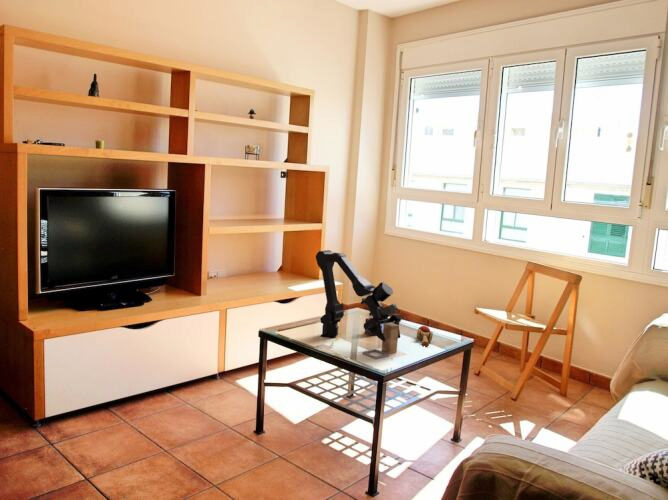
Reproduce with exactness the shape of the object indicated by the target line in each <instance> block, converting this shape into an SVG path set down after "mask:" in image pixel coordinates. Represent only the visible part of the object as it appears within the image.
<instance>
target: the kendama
mask: <svg viewBox="0 0 668 500" xmlns="http://www.w3.org/2000/svg"><path fill="white" fill-rule="evenodd" d="M416 332H417V333H416V339H417V340H418V339H422V340H421V341H422V343H421V345H422V347H423V348H428V347H429V341H431V342H432V340H433V337H434V336H433V335H434V331H431V328H429V326H427V325H421V326H419V327H418V329H417V331H416ZM424 346H425V347H424Z"/></svg>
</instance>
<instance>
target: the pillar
mask: <svg viewBox="0 0 668 500" xmlns="http://www.w3.org/2000/svg"><path fill="white" fill-rule="evenodd" d="M398 330H399V331H400V324H399V325H397V324H394V323H386V324H384V327H383V332H382V333H383V335H384V337H385V341H382V340H381V348H382V350H381V351H382V352H385V353H387V354H389V355H390V354H394V353H397V350H398V341H399V338H398Z"/></svg>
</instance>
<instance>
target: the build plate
mask: <svg viewBox="0 0 668 500" xmlns="http://www.w3.org/2000/svg"><path fill="white" fill-rule="evenodd" d="M381 350H382V347H379V348H375V349H370V350H369V349H368V350H365V351H361V352H357V353H355V354H357V355H359V356H361V357H364V358H367V359H369V360H370V361H373V362H375V363H379V362H382V361H386V360H390V359H394V358H399V357H402V356H408V353H407V352H404V351H401V350H398V349H397V353H394V354H390V355H389V354H387V353H385V352H382V351H381Z"/></svg>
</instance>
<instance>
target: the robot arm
mask: <svg viewBox="0 0 668 500" xmlns="http://www.w3.org/2000/svg"><path fill="white" fill-rule="evenodd" d="M315 260H316V264H317V266H318V268H319V269H320V271H321V273H322V281H323V285H324V292H325V297H326V304H325V308H324V314H323V315H322V316H321V317H320V319H319V320H320V324H322V329H321V330H322V333H321V334H320V336H321V337H324V338H331V339H332V338H333V339H335V338H336V337H337V336H338V335H339V328H340V327H339V325H338V324H339V323H340V322H341V320H342V318H344V314H345V309H344V304H343V303H340V301H339V300H338V295H337V288H336V287H337V286H336V282H335V275H334V269H333V268H334V266H335V263H336V264H337V265H338V266H339V268H340V269H341V271H343V273H344V274H345V276H346V277H347V278H348V280H349V281H350V282H351V284H352V289H353V291H354V292H355V294H356V296H357V297H360V298H361V302H360V305H366V307H367V309H368V312H369V313H368V315H369V318H370V319H369V320H368V321H366V320H365V321H366V322H364V323H363V329H364V332H365V331H367V330H368V332H371V333H372V334H374V335H375V336H374V337H376V338H378V340H381V342H382V341H385V337H384V335H383V332H382V331H381V329H380V324H386V323H394V324H397V325H399V326H400V323H401V321H402V319H403V317H402V315H401V314H399V313H397V311H398V306H397V305H396V303H391V304H389V305H388V306H385V305H382V303H383V302H385V301H386V300H388V299H389V298H390V297H391V296H392V295H393V294H394V292H393V288H392V287H391V286H389V285H388V284H386V282H385V281H381V282H380V283H378V285H376V286H374V285H373V284H372V283H371V282H370V281H369V280H368V279H366V278H365V277H363V276H362V275H361V274H360V273H359V272H358V270H357V269H356V268H355V267H354V266H353V264H352V263H351V262H350V260H349V259H348V257H347V256H346V254H345V253H343V252H341V253H339V252H333V251H332V250H329V249H328V250H319V251H318V252H317V253H316V254H315ZM362 297H365V298H362ZM371 317H373V318H371ZM400 338H401V332H400V329H399V330H398V339H400Z"/></svg>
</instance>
